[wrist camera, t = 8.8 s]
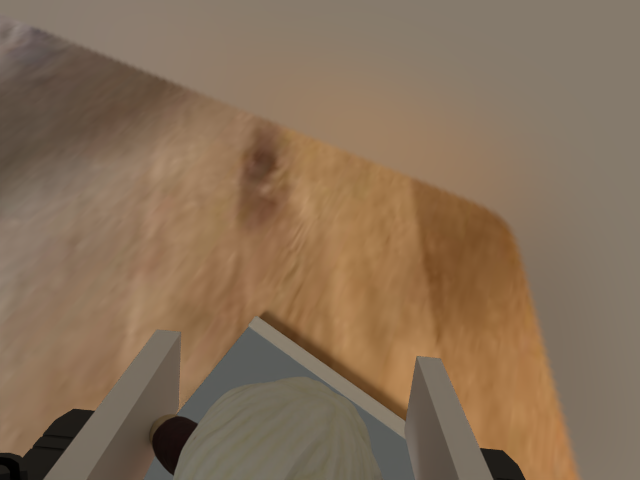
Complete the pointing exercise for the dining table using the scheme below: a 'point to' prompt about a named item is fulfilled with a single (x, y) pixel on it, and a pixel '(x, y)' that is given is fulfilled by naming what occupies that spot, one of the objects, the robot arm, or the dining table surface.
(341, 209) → the dining table surface
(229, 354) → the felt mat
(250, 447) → the grandmother figurine
